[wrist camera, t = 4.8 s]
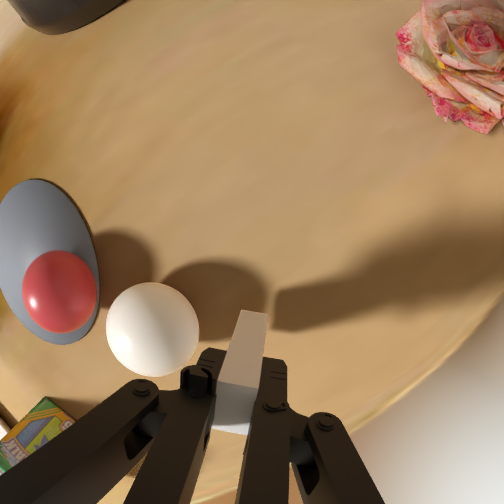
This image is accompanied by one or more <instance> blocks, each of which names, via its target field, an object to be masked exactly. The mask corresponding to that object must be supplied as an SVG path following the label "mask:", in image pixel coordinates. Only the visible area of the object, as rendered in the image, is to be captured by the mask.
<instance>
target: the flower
mask: <svg viewBox="0 0 504 504" xmlns="http://www.w3.org/2000/svg"><path fill="white" fill-rule="evenodd" d="M396 36H397V38H398V39H399V41H400V43H401V44H402V45H397V54H398V58H399V63H400V65H401V67H402V68H403V69H405V70H406V71H407V72H408V73H409V74H411V75H412V76H413V77H414V78H415V79H416V80H417V81H418V82H420V83H421V84H422V85H421V84H420V85H421V86H422V87H423V88H424V89H425V90H426V91H427V96H429V97H431V99H432V102H433V107H434V108H435V112H436V115H437V116H443V118H444V122H447V119H448V118H449V117H450V118H451V119H452V120H453V121H457V120H462V121H463V122H464V124H465V125H466V126H468V127H469V128H471V129H473V130H475V131H478V132H480V133H485V134H488V133H489V132H490V131H491V130H492V128H493V127H494V126H495V124H496V123H498V122H499V121H501V122H502V124H503V126H504V0H424V1H423V3H422V5H421V11H419V12H417V13H416V14H415V15H414V16H413V17H412V18H411V19H410V20H409V21H408V22H407V23H406V24H405V25H404V26H403V27H402V28H401V29H400V30H399V31H397V33H396ZM423 58H424V59H423ZM432 59H433V60H432ZM407 67H408V69H407ZM413 70H415V71H413ZM427 85H428V86H427ZM426 91H425V92H426ZM503 132H504V128H503ZM503 132H502V134H503Z"/></svg>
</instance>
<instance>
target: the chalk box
mask: <svg viewBox="0 0 504 504" xmlns="http://www.w3.org/2000/svg"><path fill="white" fill-rule="evenodd" d="M75 422H76V421H75V420H74V419H73V418H71V417H70V416H69V415H68V414H66V413H65V412H64V411H62V410H61V409H60V408H59V407H57V406H56V405H55V404H54V403H53V402H51V401H50V400H49V399H48V398H47V397H46V396H45V397H44V398H43V399H42V400H41V401H40V402H39V403H38V404H37V405H36V406H35V407H34V408H33V409H32V410H31V411H30V412H29V413H28V414H27V415H26V416H25V417H24V418H23V419H22V420H20V422H19V423H18V424H16V425H15V426H14V427H13V428H12V429H11V430H10V431H9V432H8V433H7V434H6V435H5V436H4V437H3V438H2V439H1V440H0V475H1V474H3V473H4V472H6V471H7V470H9V469H10V468H12V467H13V466H15V465H16V464H17V463H19V462H20V461H22V460H23V459H25V458H26V457H27V456H29V455H30V454H32V453H33V452H35V451H36V450H37V449H39V448H40V447H42V446H43V445H44V444H46V443H47V442H49V441H50V440H51V439H53V438H54V437H56V436H57V435H58V434H60V433H61V432H62V431H64V430H65V429H67V428H68V427H69V426H71V425H72V424H73V423H75Z"/></svg>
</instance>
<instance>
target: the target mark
mask: <svg viewBox="0 0 504 504" xmlns="http://www.w3.org/2000/svg"><path fill="white" fill-rule="evenodd" d="M52 250H63V251H67V252H71V253H73V254H75V255H77V256H78V257H79V258H81V259H82V260H83V261H84V262H85V263H86V264H87V265H88V267H89V268H90V270H91V272H92V274H93V276H94V278H95V282H96V287H97V300H96V305H95V309H94V311H93V313H92V315H91V317H90V318H89V320H88V321H87V322H86V323H85V324H84V325H83V326H82V327H80V328H79V329H77V330H75V331H73V332H69V333H53V332H50V331H47V330H45V329H43V328H42V327H40V326H39V325H38V324H37V323H35V322H34V320H33V319H32V318H31V317H30V315H29V314H28V312H27V310H26V308H25V305H24V302H23V297H22V283H23V278H24V275H25V272H26V270H27V268H28V267H29V265H30V264H31V263H32V261H33V260H34V259H36V258H37V257H38V256H40V255H41V254H43V253H45V252H48V251H52ZM0 287H1V290H2V292H3V295H4V297H5V299H6V301H7V303H8V304H9V306H10V308H11V309H12V311H13V312H14V314H15V315H16V316H17V318H18V319H19V320H20V321H21V323H22V324H23V325H24V326H25V327H26V328H27V329H28V330H30V331H31V332H32V333H33V334H35V335H36V336H37V337H39V338H41V339H43V340H45V341H47V342H50V343H53V344H59V345H65V344H71V343H73V342H76V341H78V340H79V339H81V338H82V337H83V336H84V335H85V334H86V333H87V332H88V331H89V329H90V328H91V326H92V324H93V322H94V320H95V317H96V314H97V310H98V305H99V297H100V280H99V270H98V264H97V258H96V254H95V250H94V246H93V243H92V240H91V237H90V234H89V232H88V230H87V227H86V225H85V223H84V221H83V219H82V217H81V215H80V213H79V212H78V210H77V209H76V207H75V206H74V204H73V203H72V202H71V200H70V199H69V198H68V197H67V196H66V195H65V194H64V193H63V192H62V191H61V190H60V189H59V188H57V187H56V186H54V185H52V184H51V183H48V182H46V181H43V180H37V179H36V180H26V181H23V182H21V183H19V184H17V185H16V186H14V187H13V188H12V189H11V190H10V191H9V192H8V193H7V194H6V196H5V197H4V199H3V201H2V202H1V204H0Z"/></svg>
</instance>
